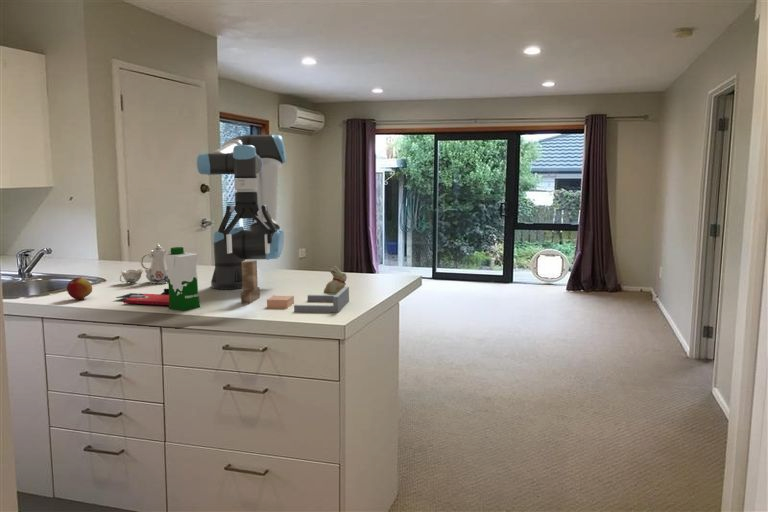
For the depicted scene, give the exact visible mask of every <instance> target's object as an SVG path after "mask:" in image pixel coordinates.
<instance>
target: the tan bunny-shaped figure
mask: <svg viewBox="0 0 768 512" xmlns="http://www.w3.org/2000/svg"><path fill="white" fill-rule="evenodd" d="M329 273H331V275H332V280H330V281H328V282H327V283H326V285H325V287H324V289H323V292H324V293H326V294H327V293H328V294H331V293H332V294H333V293H334V294H337V293H338V292H339V291H340V290H341V289H342V288H344V287H346V285H347V283H346V281H347V278H348V277H347V274H346V273H345V272H343V271H341V269H339V267H337V266H336V265H333V267H332V268H330V269H329Z"/></svg>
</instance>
